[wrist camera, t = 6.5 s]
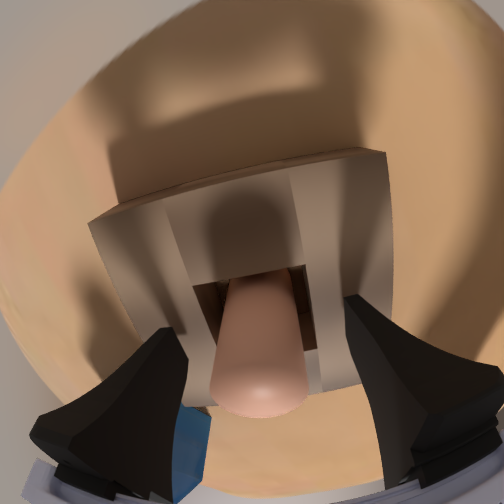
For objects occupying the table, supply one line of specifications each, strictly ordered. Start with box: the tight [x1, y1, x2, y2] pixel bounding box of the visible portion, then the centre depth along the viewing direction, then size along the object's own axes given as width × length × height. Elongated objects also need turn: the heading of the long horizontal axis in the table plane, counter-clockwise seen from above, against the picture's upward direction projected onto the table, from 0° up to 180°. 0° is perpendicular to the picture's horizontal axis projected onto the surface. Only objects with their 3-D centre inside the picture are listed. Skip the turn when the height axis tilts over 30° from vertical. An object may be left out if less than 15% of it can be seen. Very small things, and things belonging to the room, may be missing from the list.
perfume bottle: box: [172, 402, 211, 504], centre depth 15 cm, size 6×6×12 cm
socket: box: [88, 147, 393, 407], centre depth 13 cm, size 12×12×3 cm
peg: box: [209, 268, 309, 418], centre depth 11 cm, size 3×3×7 cm
